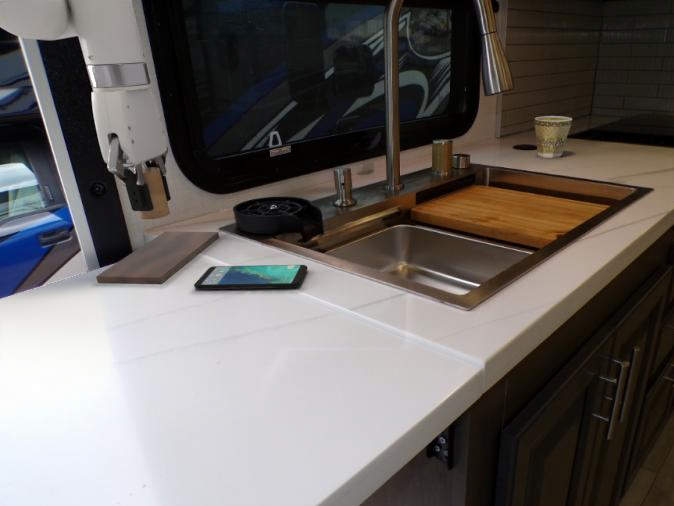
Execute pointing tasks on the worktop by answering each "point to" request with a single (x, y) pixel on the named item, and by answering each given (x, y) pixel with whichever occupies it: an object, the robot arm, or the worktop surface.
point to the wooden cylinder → (155, 194)
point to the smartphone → (252, 277)
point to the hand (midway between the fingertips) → (152, 204)
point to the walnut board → (158, 258)
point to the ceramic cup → (551, 135)
